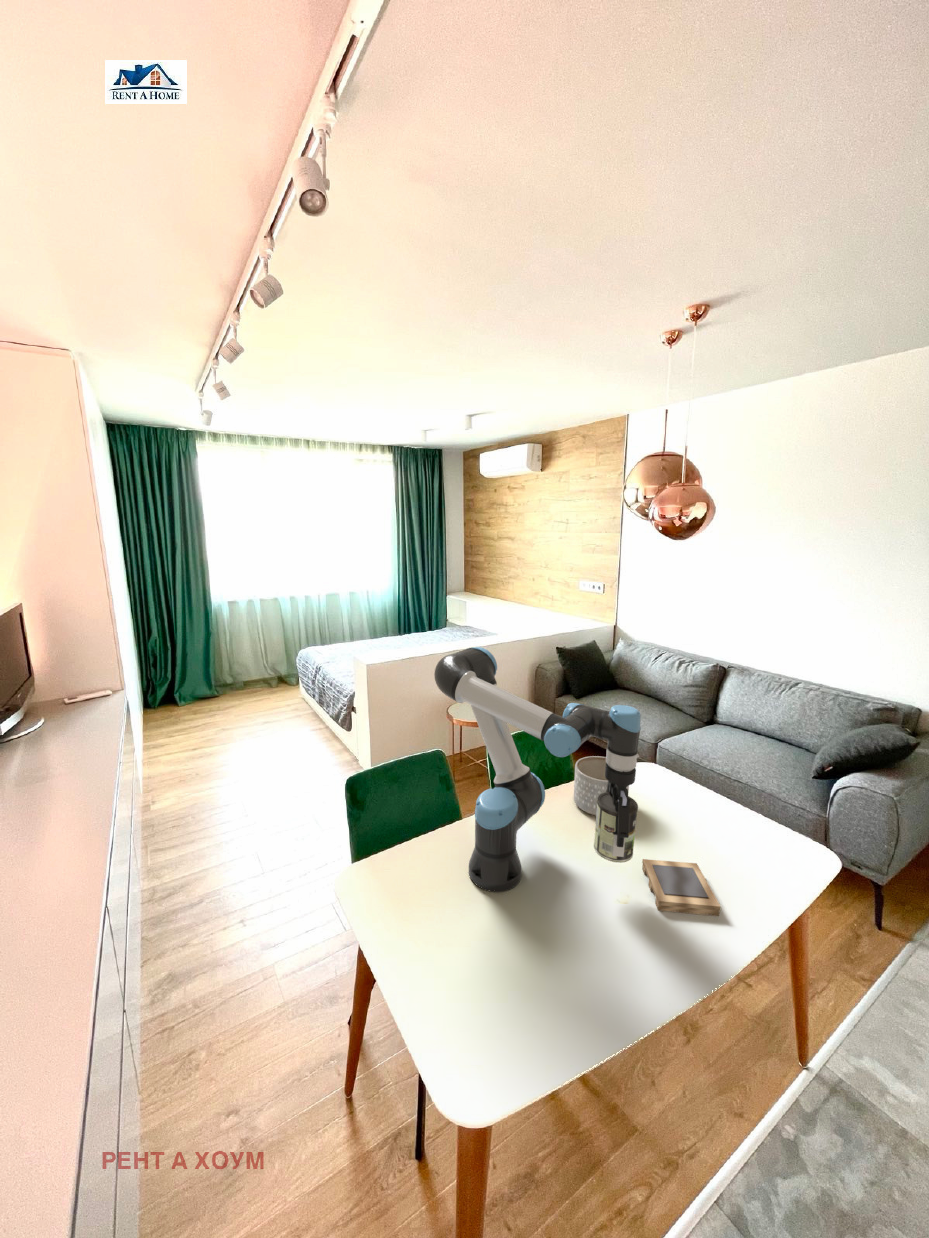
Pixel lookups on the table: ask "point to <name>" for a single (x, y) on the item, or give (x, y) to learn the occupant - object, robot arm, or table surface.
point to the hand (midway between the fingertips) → (613, 841)
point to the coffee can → (612, 828)
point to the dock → (680, 887)
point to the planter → (590, 782)
